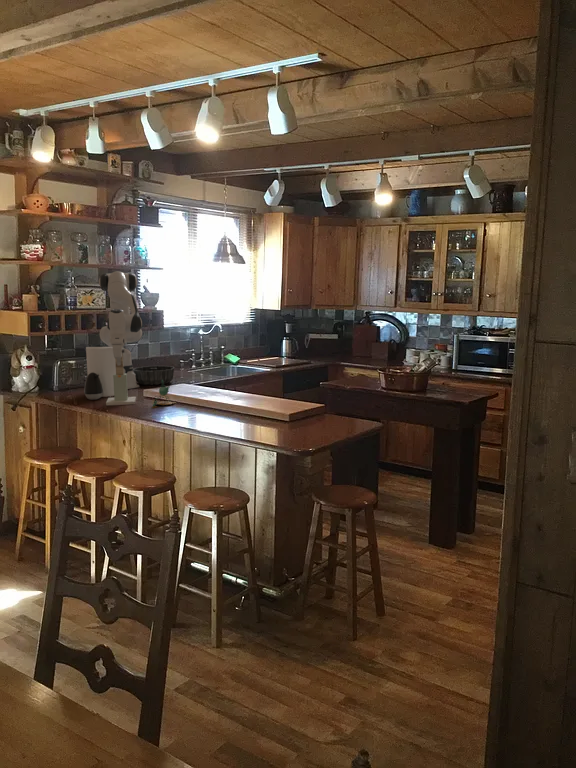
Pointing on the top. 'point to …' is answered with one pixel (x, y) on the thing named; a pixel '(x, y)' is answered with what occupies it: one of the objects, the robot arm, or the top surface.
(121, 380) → the stand base
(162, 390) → the frog figurine
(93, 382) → the dark grey egg shape
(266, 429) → the top surface
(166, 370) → the bundt pan
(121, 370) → the column
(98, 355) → the white tall block
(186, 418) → the top surface
